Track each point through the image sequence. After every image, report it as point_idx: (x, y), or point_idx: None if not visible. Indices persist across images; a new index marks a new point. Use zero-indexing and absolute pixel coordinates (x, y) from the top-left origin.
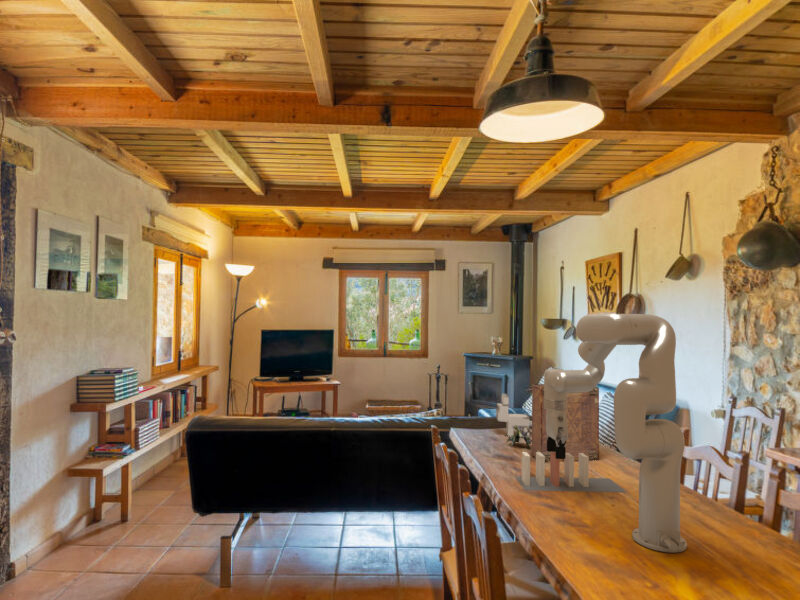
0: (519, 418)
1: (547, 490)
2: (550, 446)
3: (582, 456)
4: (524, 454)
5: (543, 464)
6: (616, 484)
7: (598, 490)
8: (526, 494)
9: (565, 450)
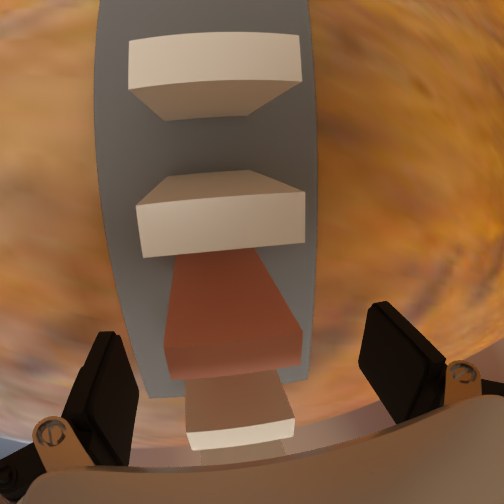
0: None
1: (311, 308)
2: (125, 407)
3: (252, 81)
4: None
5: (281, 386)
6: None
7: None
8: (326, 370)
9: (424, 337)
